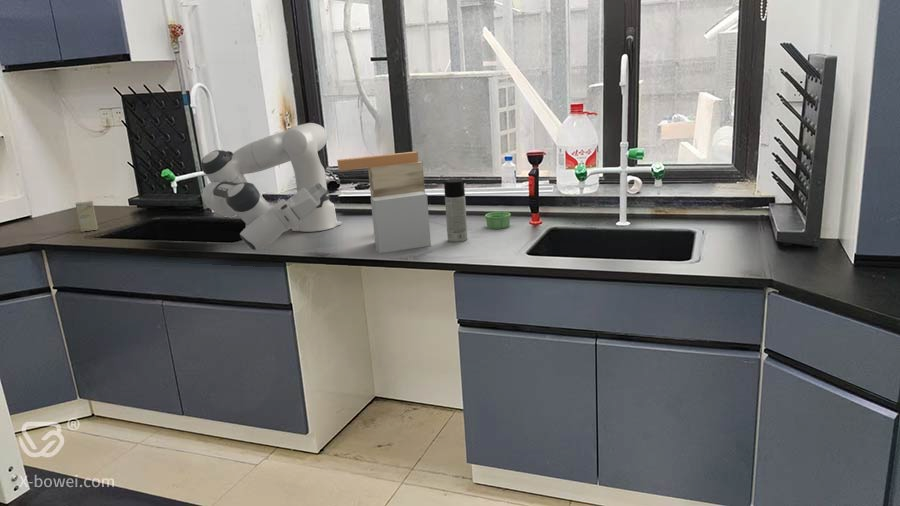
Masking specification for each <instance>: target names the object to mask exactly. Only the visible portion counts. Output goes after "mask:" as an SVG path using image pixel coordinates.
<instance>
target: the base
mask: <svg viewBox="0 0 900 506" xmlns="http://www.w3.org/2000/svg"><path fill="white" fill-rule="evenodd" d="M370 203H371V217H372V225H373V235H374V236H373V237H374V244H375V250H376V251H377V252H378V253H379V254H385V253H390V252H398V251H405V250H411V249H417V248H418V249H419V248H424V247H430V246H432V243H431V230H430V218H429V216H430V215H429V206H428V203H429V202H428V194H427V193H426V192H425V193H424V192H422V191H420V192H412V193H405V194H397V195H389V196H381V197H373V198H371V197H370Z"/></svg>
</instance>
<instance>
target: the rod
mask: <svg viewBox="0 0 900 506" xmlns="http://www.w3.org/2000/svg"><path fill="white" fill-rule="evenodd" d="M418 154H419V153H418V151H407V152H406V151H405V152H399V153H390V154H389V153H388V154H380V155H369V156H362V157H361V156H360V157H352V158H351V157H350V158H341V159H337V161H336V162H337V169H338V170H337V171H339V172H343V171H344V172H345V171H351V170H358V169H359V170H360V169H368V168H371V167H379V166H388V165H397V164H406V163H415V162H418V161H419V155H418Z"/></svg>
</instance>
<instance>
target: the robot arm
mask: <svg viewBox="0 0 900 506" xmlns="http://www.w3.org/2000/svg"><path fill="white" fill-rule="evenodd" d="M328 137H329V136H328V132H327V131H326V129H325V127H323V126H322V125H321V124H318V123H314V122H307V123H301V124H298V125H294V126H291V127H290V128H289V129H287V130H283V131H281V132H280V131H279V132H278V133H275V134H271V135H269V136H266V137H263V138H260V139H258V140H255V141H253V142H250V143H248V144H246V145H243V146H242V147H240V148H239V149H237V150H236V151H234V152H232V151H229V150H222V149H218V150H213V151H211V152H209V153H207V154H206V155H204V156H203V158H202V159H201V161H200V167H201V170H202V172H203V174H204V175H206V177H207V179H208V180H209V183H208V184H206V185H205V186H204V188H203V189H202V193H201V197H202V201H203V203H204V204H205V205H206V206H207V207H208V208H209V209H210V210H211V211H212V212H214V213H216V214H218V215H220V216H223V217H225V218H232V217H236V216H238V217H239V218H240V219H241V220H242V221H243V222H244V223H245V228H243V230H242V231H240V233H239V236H240V238H241V239H242V241H243V242H244V243H245V244H246V245H247V246H248V247H249V248H250V249H251V250H254V251H259V250H262V249H263V248H266V247H267V246H269V245H270V244H272V243H273V242H274V241H277V239H279V237H280V236H281V235H282V234H283V233H285V232H287V231H289V230H290V229H291V231H292V232H303V233H306V232H309V233H310V232H321V231H326V230H329V229H330V230H331V229H333V228H335V227H337V226H340V225H342V221H340V220H338V219H337V214H336V209H335V204H334V202H332V201H331V200H330V191H329V189H328V187H327V186H328V185H327V178H326V177H327V176H326V171H325V167H324V166H323V164H322V163H321V162H322V161H321V160H320V156H319V154H318V152H319V151H321V150H322V149H323V148H324V147H325V145H327V143H328ZM288 162H290V163H291V165H292V169H293V173H294V177H295V185H296V191H297V192H295V193H294V194H293V195H292V196H290V198H288V199H287V200H286V199H284V198H282V199H280V200H279V201H278V202H277V203H275V204H274V205H272V206H271V205H270V204H269V203H268V201H267V200H266V199H265V198H264V197H263V196H262V194H261V193H260V191H259V190H258V189H257V187H256V185H255V184H254V183H251V182H248V181H247V179H246V176H245V175H249V174H255V173H258V172H263V171H265V170H268V169H272V168H275V167H277V166H280V165H282V164H285V163H288Z"/></svg>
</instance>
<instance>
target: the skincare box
mask: <svg viewBox="0 0 900 506" xmlns="http://www.w3.org/2000/svg"><path fill="white" fill-rule="evenodd" d="M75 209H76V213H77V217H78V219H77V220H78V224H79V228H80V232H81V231H89V230H97V229H98V230H99V228H98V222H97V218H96V211H95V206H94V201H93V200H89V201H81V202H75ZM98 230H97V231H98Z"/></svg>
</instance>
